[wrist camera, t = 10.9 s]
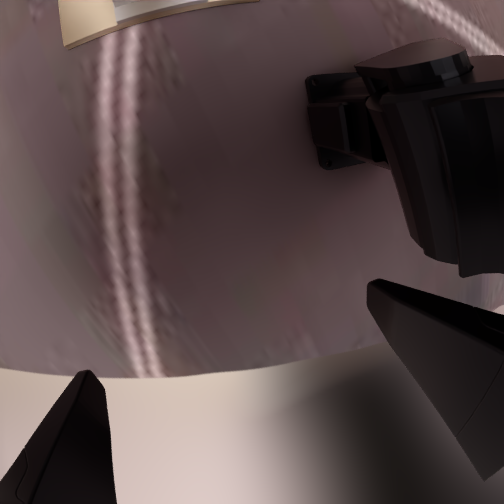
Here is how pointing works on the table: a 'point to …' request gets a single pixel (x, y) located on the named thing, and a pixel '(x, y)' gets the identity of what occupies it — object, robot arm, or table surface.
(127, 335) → the table surface
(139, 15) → the cream and teal bracket
